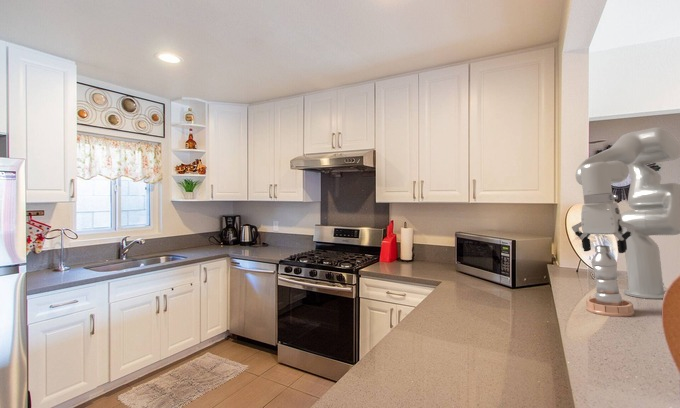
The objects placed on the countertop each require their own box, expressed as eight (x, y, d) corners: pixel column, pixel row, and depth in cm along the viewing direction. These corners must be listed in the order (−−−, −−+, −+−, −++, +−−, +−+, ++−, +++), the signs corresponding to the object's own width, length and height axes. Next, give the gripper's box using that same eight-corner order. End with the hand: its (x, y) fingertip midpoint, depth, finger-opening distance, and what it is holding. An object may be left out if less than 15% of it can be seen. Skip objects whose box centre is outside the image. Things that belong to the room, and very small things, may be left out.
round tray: (597, 304, 114) (596, 295, 114) (641, 311, 103) (640, 302, 103) (578, 310, 108) (578, 301, 108) (623, 319, 98) (622, 309, 98)
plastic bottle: (628, 310, 102) (620, 246, 103) (603, 310, 103) (595, 247, 105) (615, 304, 108) (608, 244, 109) (592, 305, 110) (585, 245, 111)
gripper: (636, 196, 102) (643, 251, 101) (575, 201, 117) (580, 248, 116) (625, 198, 98) (631, 255, 98) (563, 202, 113) (569, 251, 113)
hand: (604, 251), depth 107 cm, fingers open, 9 cm apart
